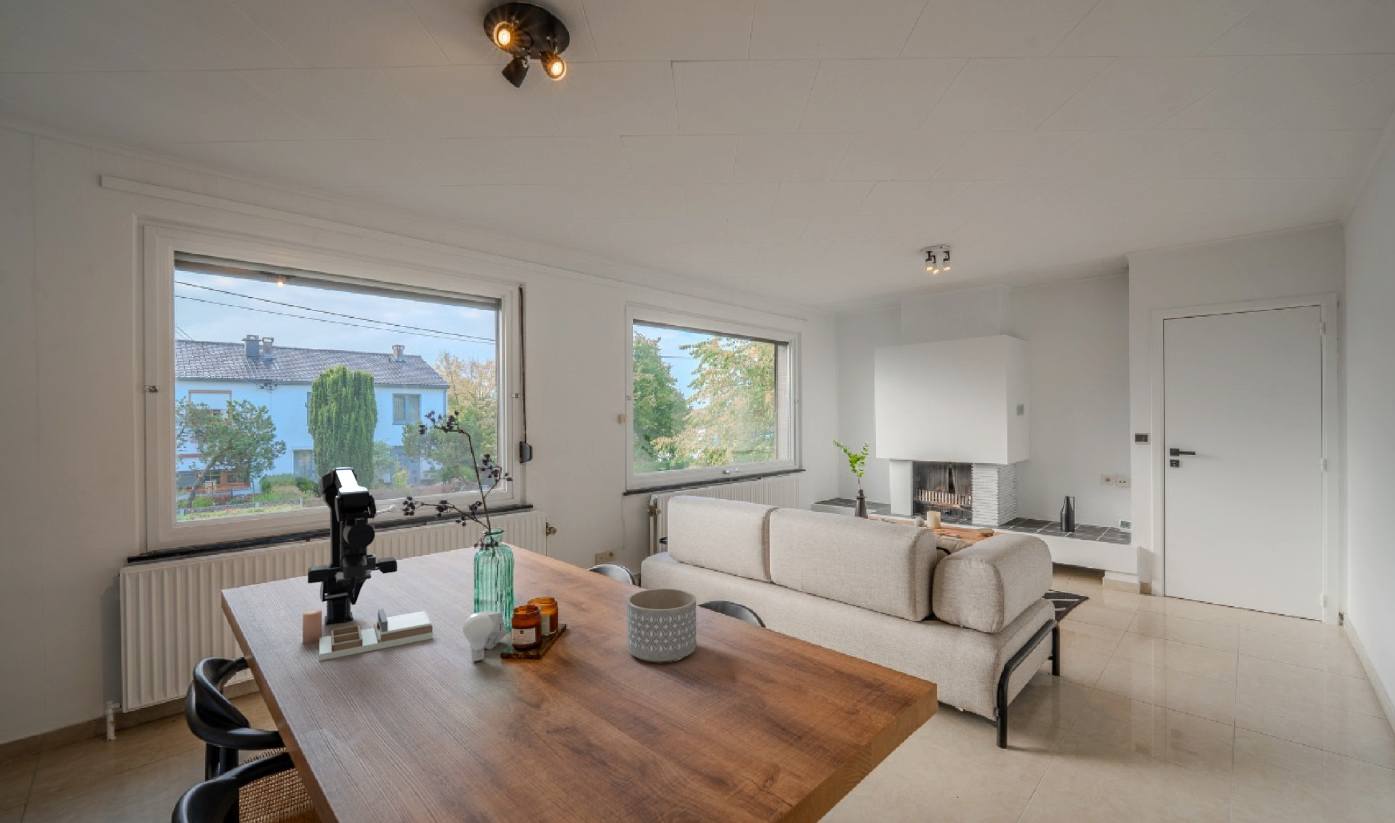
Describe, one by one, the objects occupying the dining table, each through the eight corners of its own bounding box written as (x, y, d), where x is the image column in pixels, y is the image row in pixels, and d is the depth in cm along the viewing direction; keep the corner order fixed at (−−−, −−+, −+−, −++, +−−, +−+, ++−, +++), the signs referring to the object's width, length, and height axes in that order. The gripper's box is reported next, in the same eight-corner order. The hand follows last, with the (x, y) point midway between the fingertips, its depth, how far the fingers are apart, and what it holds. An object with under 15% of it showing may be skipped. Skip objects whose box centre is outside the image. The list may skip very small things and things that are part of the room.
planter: (665, 673, 126) (665, 615, 126) (613, 654, 136) (612, 600, 136) (709, 648, 139) (709, 596, 139) (658, 633, 149) (658, 584, 149)
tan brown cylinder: (302, 639, 145) (303, 611, 145) (321, 636, 147) (321, 608, 147) (302, 644, 142) (302, 616, 142) (321, 641, 144) (321, 613, 144)
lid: (378, 621, 149) (378, 609, 149) (424, 612, 155) (424, 601, 155) (382, 634, 140) (382, 622, 140) (431, 625, 146) (431, 613, 146)
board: (319, 643, 142) (319, 631, 142) (425, 624, 156) (425, 612, 156) (319, 660, 132) (319, 647, 132) (432, 638, 146) (432, 626, 146)
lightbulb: (456, 663, 131) (456, 615, 131) (479, 653, 136) (479, 606, 136) (476, 669, 128) (476, 619, 128) (498, 658, 133) (498, 611, 133)
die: (470, 659, 135) (497, 624, 135) (453, 632, 139) (478, 599, 140) (495, 659, 142) (521, 625, 142) (478, 634, 147) (502, 602, 147)
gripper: (307, 552, 130) (307, 621, 129) (399, 542, 140) (399, 606, 140) (308, 543, 139) (307, 607, 139) (394, 534, 149) (394, 594, 149)
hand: (353, 604), depth 141 cm, fingers closed
